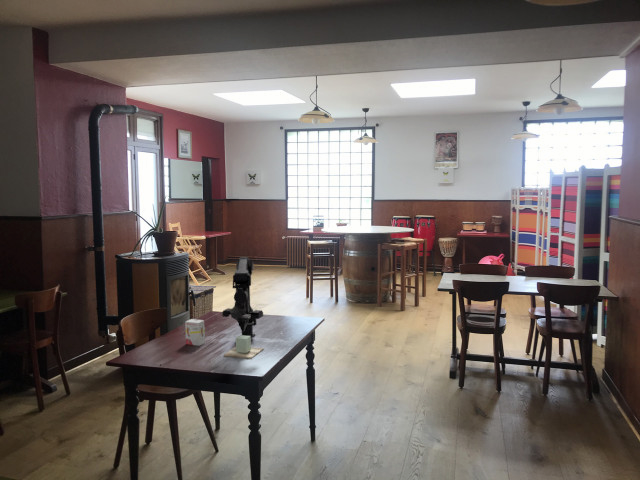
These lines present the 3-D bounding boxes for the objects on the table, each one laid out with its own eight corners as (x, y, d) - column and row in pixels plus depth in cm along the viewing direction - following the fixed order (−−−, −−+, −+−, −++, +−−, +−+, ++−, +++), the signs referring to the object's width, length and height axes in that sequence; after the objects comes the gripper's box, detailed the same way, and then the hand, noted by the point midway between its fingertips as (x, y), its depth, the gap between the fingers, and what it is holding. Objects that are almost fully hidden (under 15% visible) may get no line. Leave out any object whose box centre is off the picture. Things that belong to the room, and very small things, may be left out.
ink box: (185, 344, 258) (184, 321, 257) (191, 341, 263) (190, 318, 261) (199, 346, 255) (198, 322, 254) (205, 343, 259) (204, 320, 258)
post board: (237, 347, 252) (237, 346, 252) (263, 349, 248) (263, 348, 248) (223, 356, 238) (223, 355, 238) (251, 358, 234) (251, 357, 234)
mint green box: (241, 348, 246) (240, 335, 245) (251, 349, 245) (250, 336, 244) (236, 352, 241) (235, 338, 241) (246, 353, 240) (245, 339, 239)
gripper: (215, 301, 236) (217, 334, 237) (253, 303, 230) (254, 337, 232) (227, 296, 246) (228, 328, 248) (263, 298, 241) (264, 331, 242)
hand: (243, 331), depth 242 cm, fingers closed
